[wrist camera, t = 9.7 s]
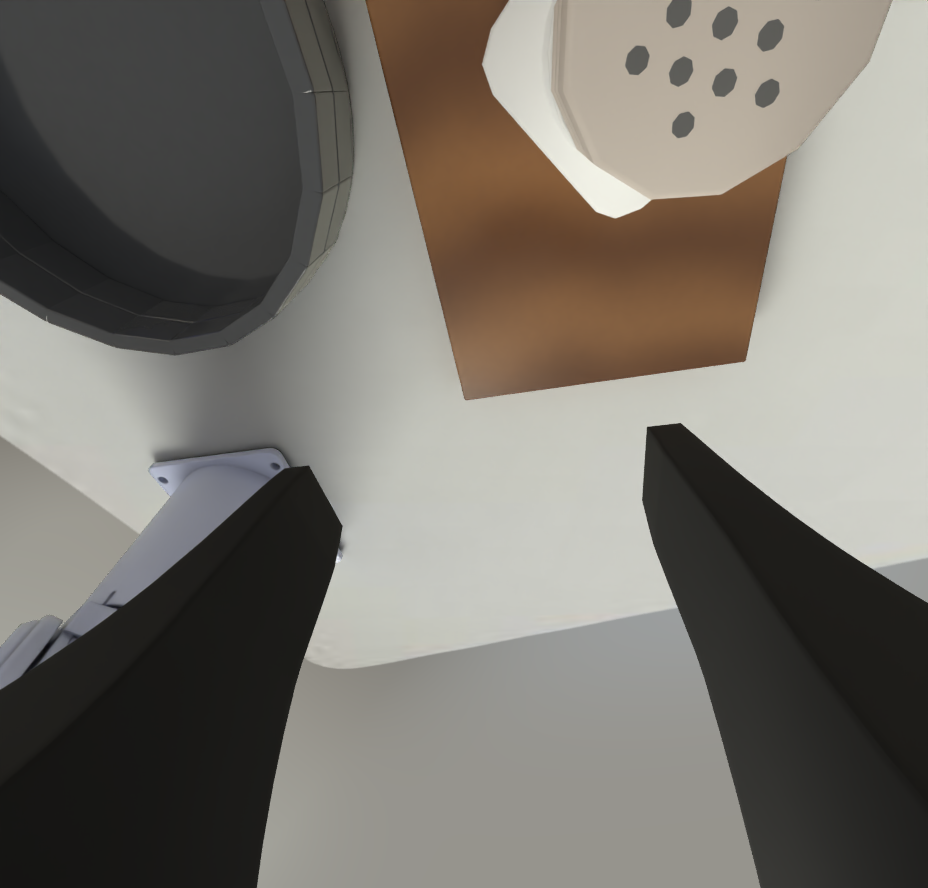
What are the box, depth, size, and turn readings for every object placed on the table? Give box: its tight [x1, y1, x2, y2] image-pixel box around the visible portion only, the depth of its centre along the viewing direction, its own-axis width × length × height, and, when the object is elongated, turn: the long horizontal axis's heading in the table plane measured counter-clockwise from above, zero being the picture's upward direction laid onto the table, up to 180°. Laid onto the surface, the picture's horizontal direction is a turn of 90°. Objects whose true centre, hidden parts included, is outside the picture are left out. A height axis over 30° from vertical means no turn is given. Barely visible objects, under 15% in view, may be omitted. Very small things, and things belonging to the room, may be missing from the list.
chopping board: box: [365, 0, 787, 400], centre depth 12 cm, size 20×11×2 cm, turn 12°
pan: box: [0, 0, 354, 355], centre depth 13 cm, size 14×14×4 cm
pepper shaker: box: [482, 0, 892, 219], centre depth 8 cm, size 4×4×10 cm
